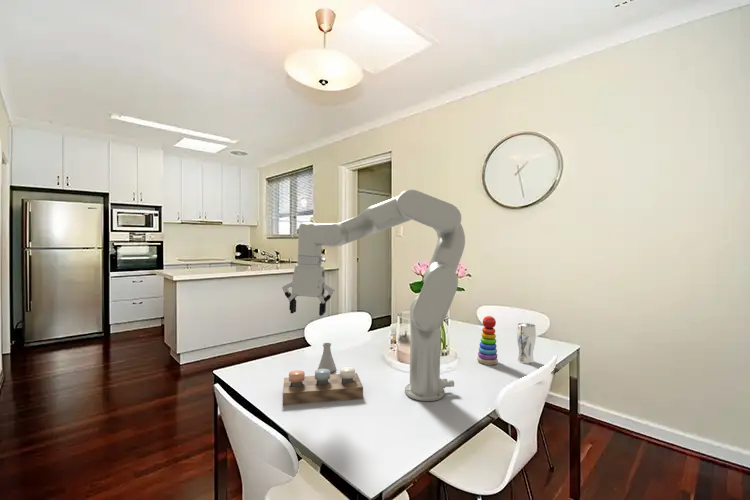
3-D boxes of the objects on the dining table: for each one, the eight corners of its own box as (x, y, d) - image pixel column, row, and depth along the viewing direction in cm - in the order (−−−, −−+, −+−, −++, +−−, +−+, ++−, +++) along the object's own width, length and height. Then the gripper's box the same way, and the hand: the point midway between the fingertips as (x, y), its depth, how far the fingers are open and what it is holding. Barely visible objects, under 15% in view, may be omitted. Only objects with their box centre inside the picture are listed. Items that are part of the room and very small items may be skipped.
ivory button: (353, 383, 119) (353, 366, 119) (356, 389, 114) (356, 371, 114) (339, 384, 118) (339, 367, 118) (340, 390, 113) (341, 372, 113)
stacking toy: (477, 364, 142) (478, 317, 141) (476, 358, 150) (477, 313, 149) (498, 366, 140) (499, 318, 140) (496, 359, 148) (497, 314, 147)
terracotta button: (304, 386, 115) (304, 369, 115) (304, 393, 111) (304, 375, 111) (288, 387, 114) (289, 370, 114) (288, 394, 110) (288, 376, 110)
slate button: (329, 384, 117) (329, 368, 117) (330, 391, 112) (330, 373, 112) (314, 386, 116) (314, 369, 116) (315, 392, 111) (315, 374, 111)
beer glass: (516, 362, 144) (517, 325, 144) (516, 357, 151) (517, 322, 150) (535, 365, 142) (536, 327, 141) (534, 359, 148) (535, 323, 148)
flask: (333, 374, 130) (333, 347, 130) (314, 373, 132) (314, 345, 131) (339, 367, 137) (339, 341, 137) (321, 366, 139) (321, 340, 138)
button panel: (356, 382, 123) (356, 372, 123) (362, 398, 111) (363, 387, 111) (284, 388, 118) (284, 377, 118) (282, 405, 106) (282, 393, 106)
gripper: (338, 262, 119) (336, 313, 119) (288, 259, 121) (286, 309, 122) (332, 263, 111) (329, 318, 112) (279, 260, 114) (277, 314, 114)
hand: (307, 313), depth 117 cm, fingers open, 9 cm apart
